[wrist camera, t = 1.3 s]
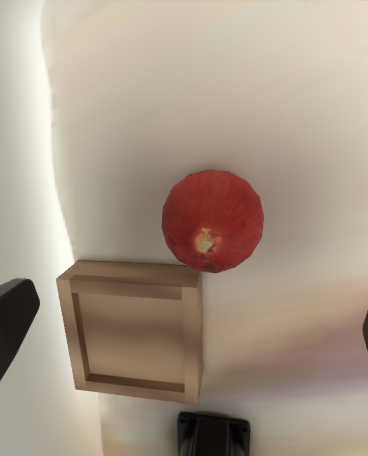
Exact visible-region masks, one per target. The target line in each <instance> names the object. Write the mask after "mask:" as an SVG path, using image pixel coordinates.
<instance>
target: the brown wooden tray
mask: <svg viewBox="0 0 368 456" xmlns="http://www.w3.org/2000/svg"><path fill="white" fill-rule="evenodd" d="M56 282H57V287H58V292H59V293H58V294H59V299H60V305H61V310H62V316H63V321H64V327H65V332H66V338H67V344H68V349H69V354H70V361H71V366H72V372H73V377H74V383H75V388H76V389H77V390H85V391H93V392H101V393H109V394H116V395H124V396H132V397H140V398H148V399H156V400H164V401H172V402H180V403H187V404H195V405H198V401H199V394H200V386H201V379H202V271H198V270H194V269H192V268H191V267H189V266H183V265H163V264H143V263H123V262H103V261H83V260H78V261H77V262H76V263H75V264H74V265H72V266H71V267H70V268H69V269H68V270H66V271H65V272H64V273H63V274H61V275H60V276H59V277H58V278H57V279H56Z"/></svg>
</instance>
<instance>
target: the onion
mask: <svg viewBox="0 0 368 456" xmlns="http://www.w3.org/2000/svg"><path fill="white" fill-rule="evenodd" d="M263 221H264V215H263V210H262V206H261V202H260V197H259V196H258V195H257V193H256V192H255V191H254V190H253V188H252V187H251V186H250V185H249V184H248V182H247V181H245V180H243V179H242V178H240V177H238V176H236V175H234V174H232V173H230V172H227V171H217V170H206V171H202V172H198V173H194V174H190V175H188V176H187V177H186V178H184V179H183V180H182V181H181V182H179V183H178V184H177V185H175V186H174V187H173V189H172V190H171V192H170V194H169V196H168V198H167V201H166V203H165V205H164V207H163V214H162V230H163V234H164V237H165V241H166V244H167V246H168V248H169V249H170V250H171V252H172V253H173V254H174V256H175V257H176V258H177V260H178V261H180V262H182V263H184V264H185V265H187V266H189V267H191V268H192V269H194V270H198V271H204V272H210V273H218V272H222V271H225V270H228V269H231V268H234V267H236V266H237V265H239V264H240V263H242V262H243V261H244V260H246V259H247V258H248V257H250V256H251V254H252V252H253V251H254V249H255V248H256V246H257V244H258V243H259V241H260V239H261V237H262V229H263Z"/></svg>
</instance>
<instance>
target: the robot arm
mask: <svg viewBox="0 0 368 456" xmlns="http://www.w3.org/2000/svg"><path fill="white" fill-rule="evenodd" d="M39 306H40V300H39V297H38V295H37V292H36V289H35V286H34V284H33V282H32V281H31V280H30V279H25V278H16V279H13V280H11V281H9V282H7V283H4V284H2V285H0V381H1V379H2V378H3V376H4V374H5V373H6V371H7V369H8V368H9V366H10V364H11V363H12V361H13V359H14V358H15V356H16V354H17V352H18V350H19V348H20V346H21V344H22V342H23V340H24V338H25V336H26V334H27V332H28V330H29V328H30V326H31V323H32V322H33V320H34V318H35V315H36V314H37V311H38V309H39ZM363 336H364V340H365V343H366V347H367V351H368V311H367V314H366V317H365V320H364V323H363ZM177 426H178V450H179V456H249V445H250V424H249V423H248V422H245V421H239V420H231V419H223V418H216V417H208V416H201V415H193V414H186V413H181V414H179V415H178V419H177Z"/></svg>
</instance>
